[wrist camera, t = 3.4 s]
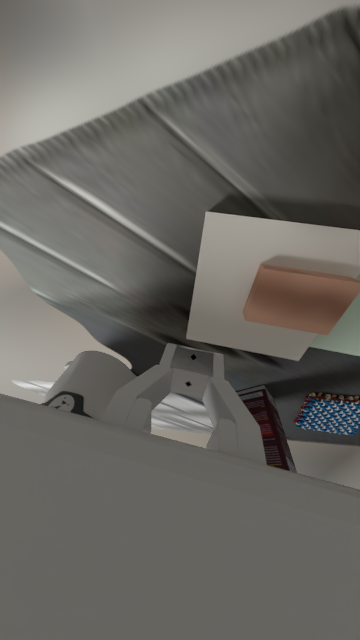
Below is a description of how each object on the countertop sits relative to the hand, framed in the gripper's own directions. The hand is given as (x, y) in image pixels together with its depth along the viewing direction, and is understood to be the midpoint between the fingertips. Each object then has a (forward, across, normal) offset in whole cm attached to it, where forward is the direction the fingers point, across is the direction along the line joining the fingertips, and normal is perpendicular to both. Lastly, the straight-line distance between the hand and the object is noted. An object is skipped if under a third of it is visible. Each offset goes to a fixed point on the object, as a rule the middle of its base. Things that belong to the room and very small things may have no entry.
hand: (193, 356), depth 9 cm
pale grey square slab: (+16, +7, -2) cm, 17 cm away
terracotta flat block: (+13, +10, -1) cm, 16 cm away
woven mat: (+16, +28, -23) cm, 39 cm away
